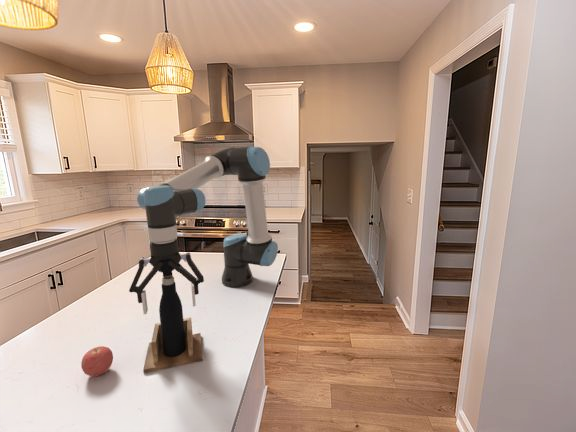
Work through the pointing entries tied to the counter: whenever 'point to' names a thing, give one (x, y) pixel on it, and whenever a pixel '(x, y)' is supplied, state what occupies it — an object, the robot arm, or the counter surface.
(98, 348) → the apple
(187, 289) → the counter surface
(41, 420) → the counter surface
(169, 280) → the wine bottle
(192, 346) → the u rest
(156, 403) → the counter surface
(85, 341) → the counter surface
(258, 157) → the robot arm
